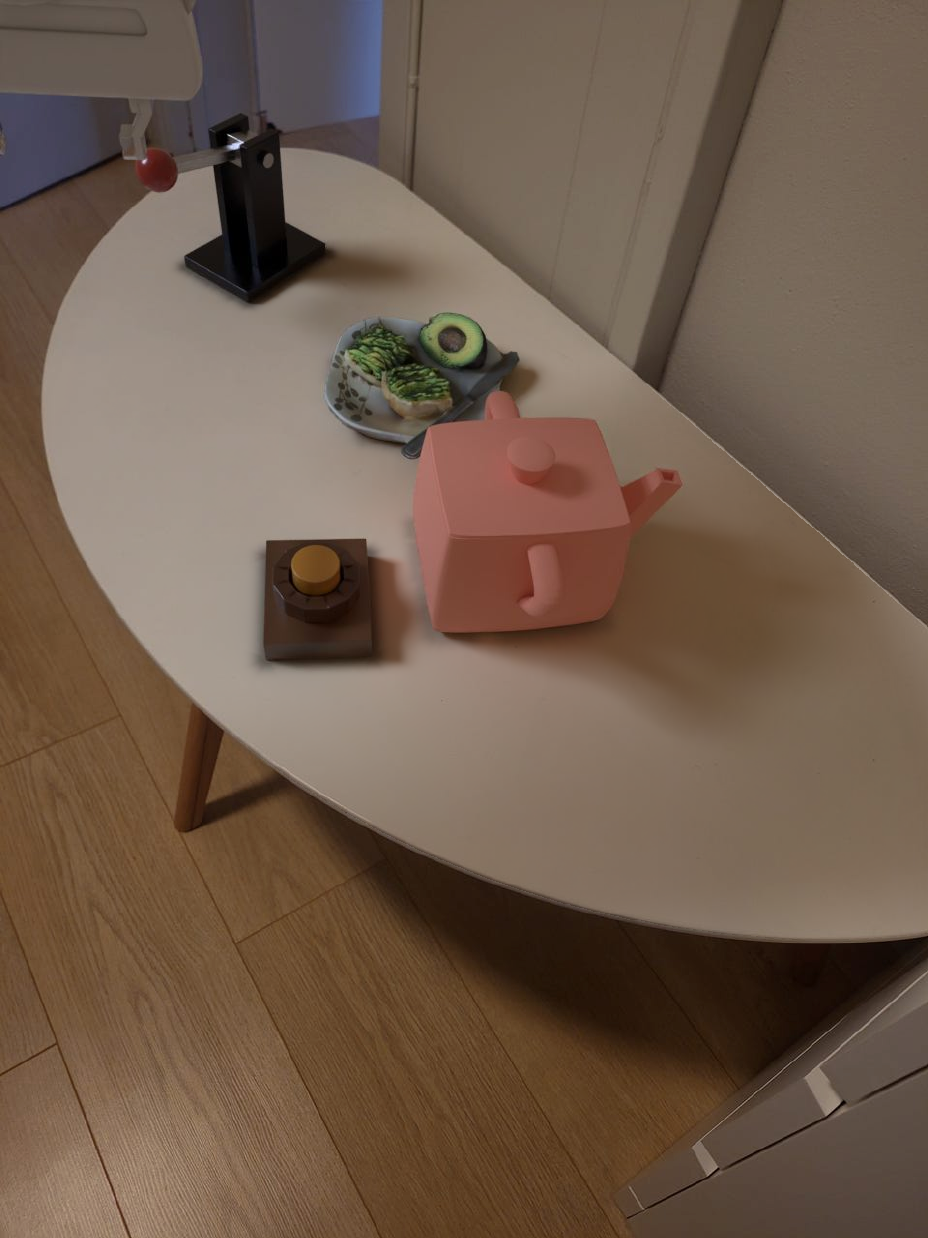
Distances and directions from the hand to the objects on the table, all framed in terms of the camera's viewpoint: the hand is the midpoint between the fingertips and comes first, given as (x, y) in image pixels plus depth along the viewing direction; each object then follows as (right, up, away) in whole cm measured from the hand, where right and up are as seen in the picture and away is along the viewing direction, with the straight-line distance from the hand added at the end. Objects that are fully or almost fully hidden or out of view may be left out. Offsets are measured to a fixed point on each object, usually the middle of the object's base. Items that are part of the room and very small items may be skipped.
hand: (65, 153), depth 64 cm
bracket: (+6, +6, +34) cm, 35 cm away
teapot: (+34, -29, +13) cm, 46 cm away
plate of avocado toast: (+24, -10, +25) cm, 36 cm away
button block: (+16, -32, +8) cm, 37 cm away
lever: (+3, +9, +21) cm, 23 cm away
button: (+17, -30, +5) cm, 34 cm away
